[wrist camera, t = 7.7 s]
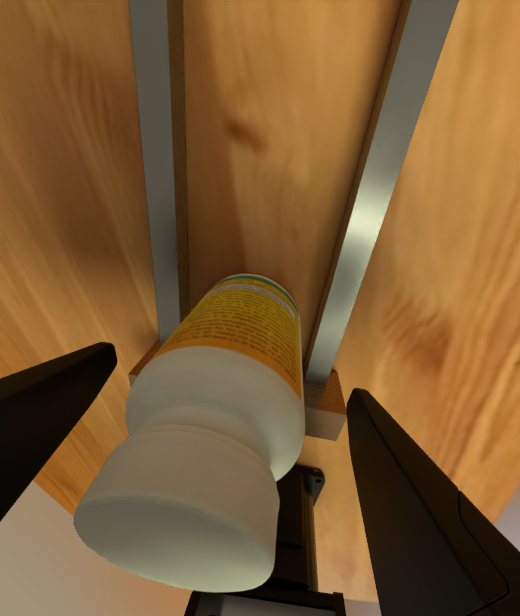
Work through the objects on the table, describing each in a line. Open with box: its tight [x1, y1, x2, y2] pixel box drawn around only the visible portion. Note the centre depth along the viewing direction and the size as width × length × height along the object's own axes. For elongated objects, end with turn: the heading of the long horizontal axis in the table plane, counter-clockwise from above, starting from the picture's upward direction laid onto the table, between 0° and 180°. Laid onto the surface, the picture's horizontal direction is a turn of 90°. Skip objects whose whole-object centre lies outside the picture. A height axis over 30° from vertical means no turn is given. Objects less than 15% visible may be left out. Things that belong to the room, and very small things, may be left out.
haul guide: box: [128, 0, 459, 441], centre depth 10 cm, size 19×11×3 cm, turn 173°
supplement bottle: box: [74, 273, 305, 592], centre depth 9 cm, size 5×5×10 cm
